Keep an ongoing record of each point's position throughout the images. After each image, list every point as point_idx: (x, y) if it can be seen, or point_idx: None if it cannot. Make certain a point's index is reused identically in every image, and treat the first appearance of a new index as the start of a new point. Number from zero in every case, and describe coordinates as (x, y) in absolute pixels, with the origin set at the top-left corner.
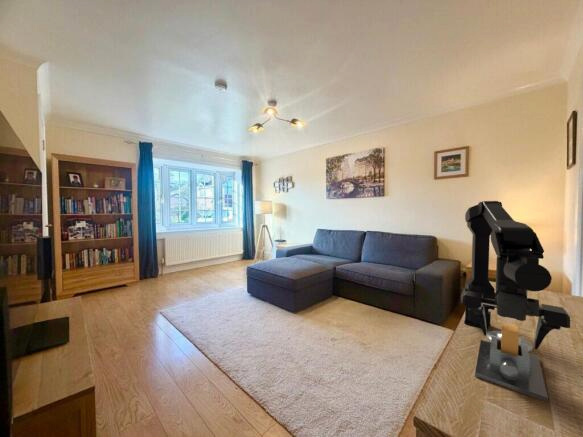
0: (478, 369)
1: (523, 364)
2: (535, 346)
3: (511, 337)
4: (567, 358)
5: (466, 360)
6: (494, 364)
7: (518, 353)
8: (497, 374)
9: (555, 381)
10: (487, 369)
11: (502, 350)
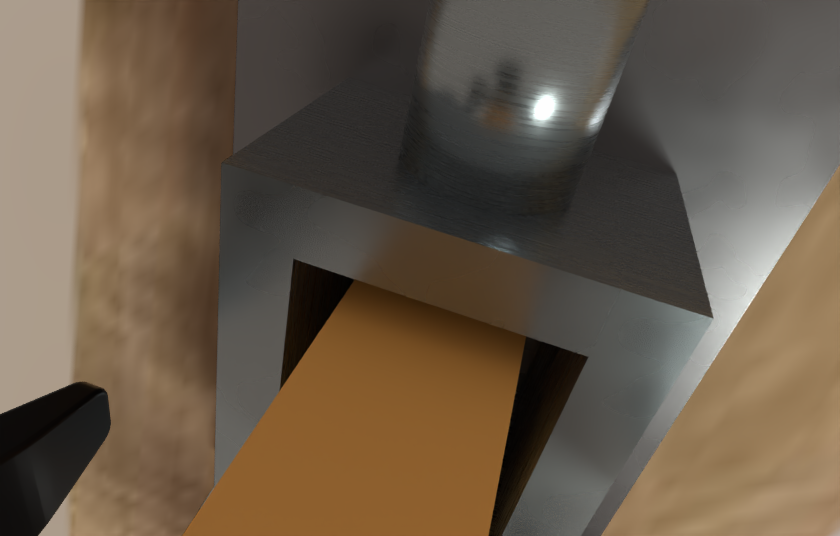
0: (833, 120)
1: (324, 154)
2: (68, 409)
3: (315, 532)
4: (105, 499)
5: (830, 325)
6: (637, 192)
7: None
8: (623, 100)
9: (178, 242)
10: (703, 165)
11: (504, 359)
